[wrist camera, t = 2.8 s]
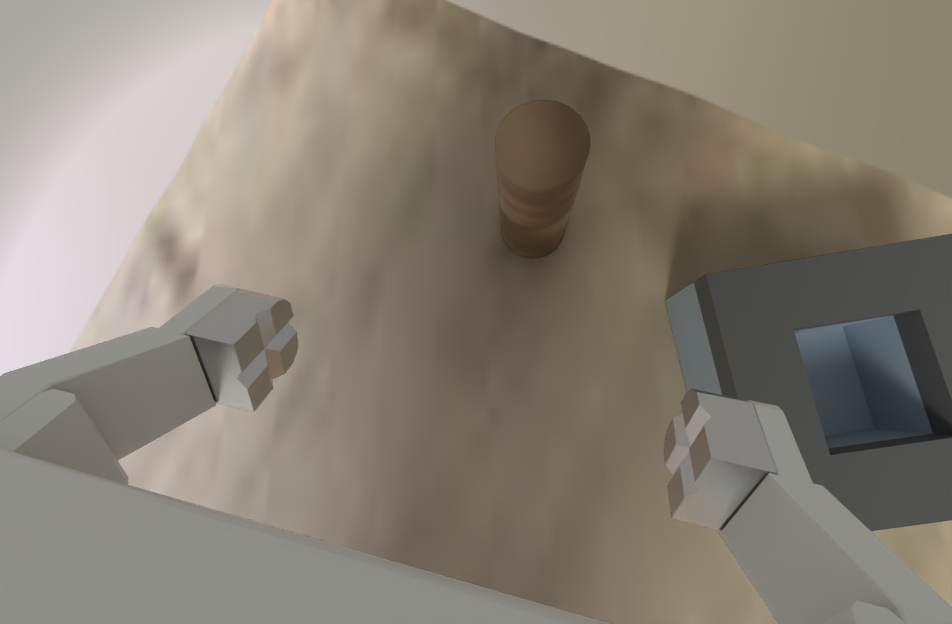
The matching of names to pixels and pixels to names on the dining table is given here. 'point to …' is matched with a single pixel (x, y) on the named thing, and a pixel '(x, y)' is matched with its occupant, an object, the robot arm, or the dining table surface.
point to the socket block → (840, 367)
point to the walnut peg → (539, 174)
